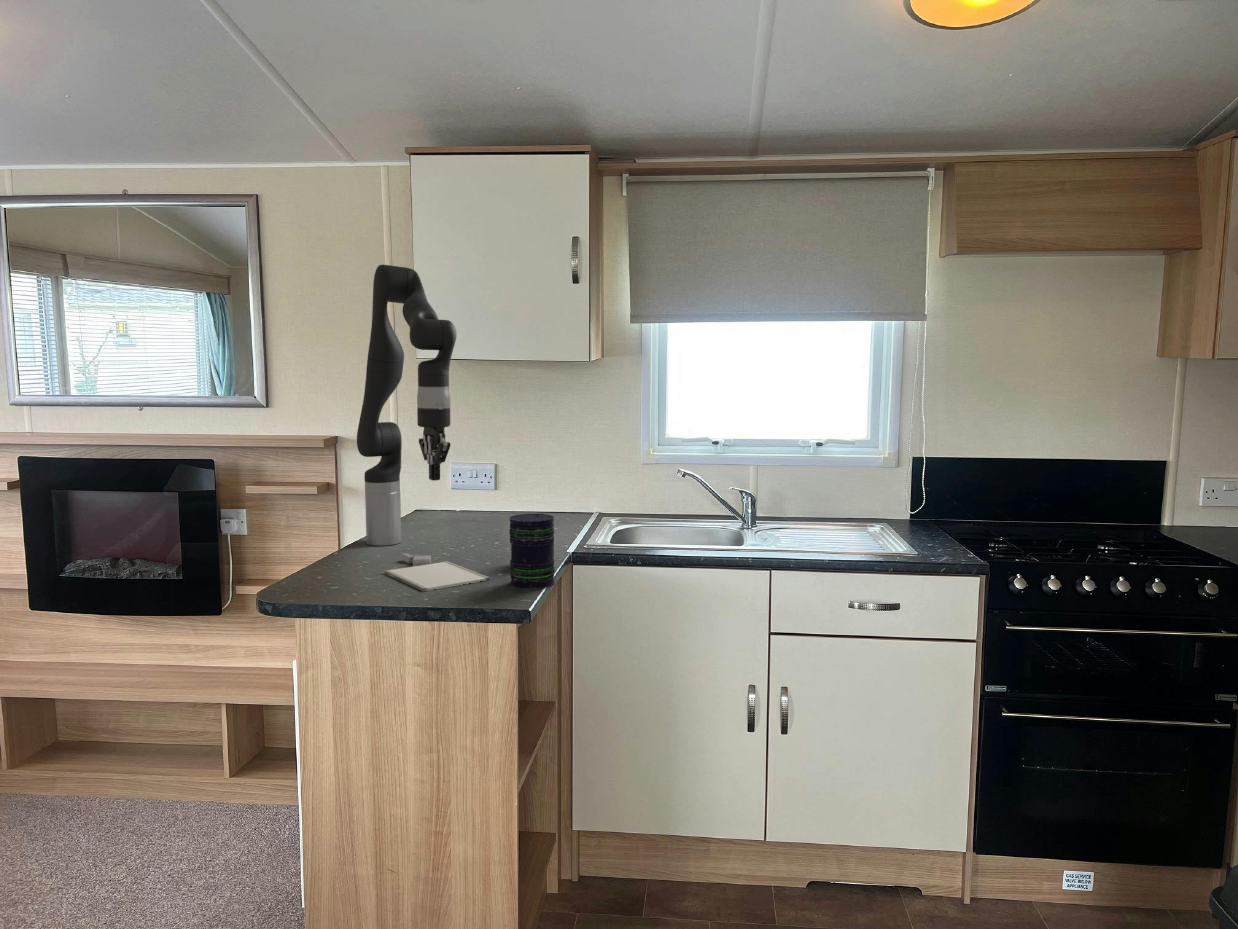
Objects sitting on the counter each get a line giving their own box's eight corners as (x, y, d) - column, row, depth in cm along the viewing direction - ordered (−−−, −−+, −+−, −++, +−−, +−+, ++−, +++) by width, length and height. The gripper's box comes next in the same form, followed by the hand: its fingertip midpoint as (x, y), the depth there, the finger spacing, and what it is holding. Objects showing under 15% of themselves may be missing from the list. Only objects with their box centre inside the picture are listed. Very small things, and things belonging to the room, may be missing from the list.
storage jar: (542, 591, 178) (541, 522, 177) (501, 587, 182) (500, 519, 180) (562, 580, 188) (561, 515, 186) (523, 577, 191) (522, 512, 190)
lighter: (430, 566, 202) (431, 559, 210) (430, 559, 202) (431, 552, 210) (400, 567, 201) (402, 560, 208) (400, 560, 201) (401, 553, 208)
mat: (384, 573, 194) (384, 570, 194) (447, 564, 204) (447, 561, 204) (423, 591, 178) (423, 588, 178) (489, 580, 188) (489, 577, 188)
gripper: (407, 405, 197) (408, 477, 199) (430, 407, 186) (431, 484, 188) (436, 404, 201) (437, 475, 203) (461, 407, 191) (461, 482, 193)
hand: (434, 479), depth 196 cm, fingers closed
